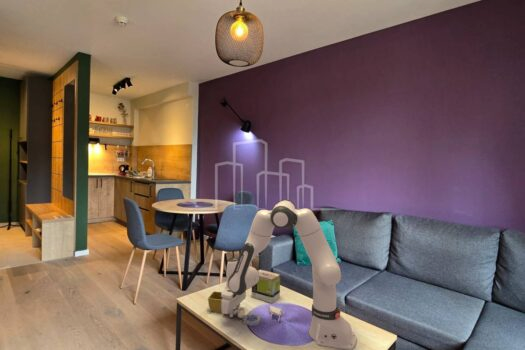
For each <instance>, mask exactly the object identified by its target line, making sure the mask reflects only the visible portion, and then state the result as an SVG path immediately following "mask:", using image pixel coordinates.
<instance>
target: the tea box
mask: <svg viewBox="0 0 525 350" xmlns="http://www.w3.org/2000/svg"><path fill="white" fill-rule="evenodd" d="M257 271H258V273H259V281H258V283H257V284H255V285H254V286H252V287H251V298H254V299H257V300H260V301H263V302H266V303H270V304H273V303H274V302H276V301H278V299H280V297H281V294H280V293H281V274H280V273H276V272H272V271H268V270H264V269H259V270H257Z"/></svg>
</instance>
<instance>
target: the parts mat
mask: <svg viewBox="0 0 525 350" xmlns="http://www.w3.org/2000/svg"><path fill="white" fill-rule="evenodd" d="M221 317H222V318H225V319H228V320H232V321H237V322H239V323H240V322H241V321H243V318H239V317H238V315H237V316H233V317H230V314H228V315H226V314H225V313H223V315H222V316H221Z"/></svg>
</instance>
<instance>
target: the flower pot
mask: <svg viewBox="0 0 525 350" xmlns="http://www.w3.org/2000/svg"><path fill="white" fill-rule="evenodd" d="M222 292H223V291H214V290H213V292H212V293H210V295H209V296H208V298H207V301H208V308H209V310H210V311H211V312H212V313H213V312H215V313H219V314H220V313H221V314H222V310H221V301H222V298H223V297H221V293H222Z"/></svg>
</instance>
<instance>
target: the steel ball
mask: <svg viewBox="0 0 525 350" xmlns="http://www.w3.org/2000/svg"><path fill="white" fill-rule="evenodd" d="M233 313H234V316H237V313H238V310H237V309H236V308H234V309H233Z"/></svg>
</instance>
